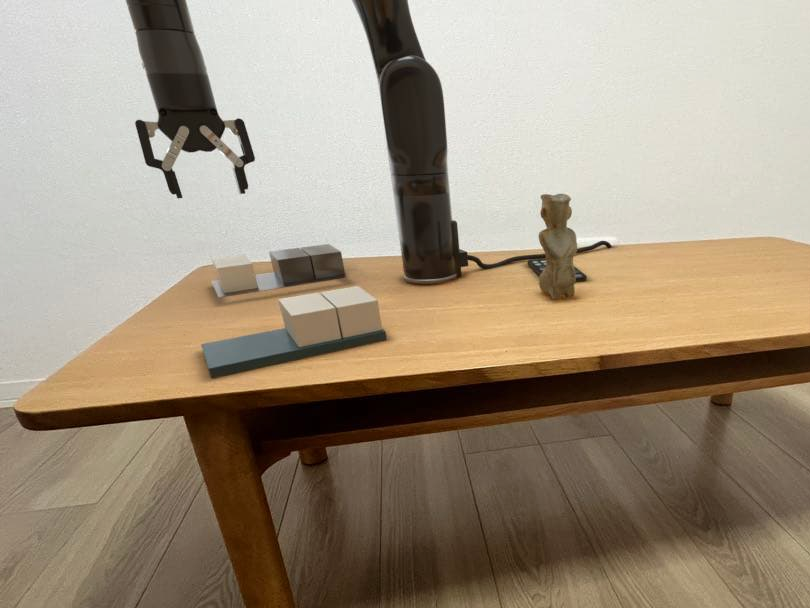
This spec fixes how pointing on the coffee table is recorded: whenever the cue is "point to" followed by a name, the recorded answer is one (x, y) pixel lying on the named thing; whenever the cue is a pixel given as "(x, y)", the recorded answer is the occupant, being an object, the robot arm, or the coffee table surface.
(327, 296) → the teal base board
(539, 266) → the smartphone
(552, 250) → the sculpture
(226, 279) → the beige block
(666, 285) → the coffee table surface
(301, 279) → the grey board with blocks
